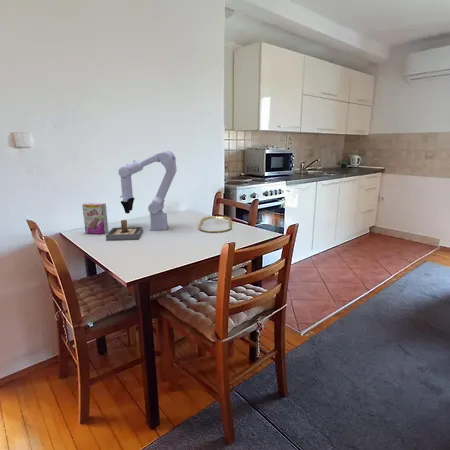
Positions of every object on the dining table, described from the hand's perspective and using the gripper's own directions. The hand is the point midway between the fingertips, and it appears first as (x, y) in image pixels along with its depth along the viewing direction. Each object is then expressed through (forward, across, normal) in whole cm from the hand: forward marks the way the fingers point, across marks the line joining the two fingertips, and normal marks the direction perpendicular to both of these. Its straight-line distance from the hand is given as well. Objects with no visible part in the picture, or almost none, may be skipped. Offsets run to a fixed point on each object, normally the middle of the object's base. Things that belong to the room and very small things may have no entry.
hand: (128, 211), depth 187 cm
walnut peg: (+9, +17, +1) cm, 19 cm away
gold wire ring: (+10, -1, +50) cm, 51 cm away
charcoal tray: (+9, +17, +1) cm, 20 cm away
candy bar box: (+10, +9, -16) cm, 21 cm away
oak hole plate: (+9, +17, +1) cm, 20 cm away
